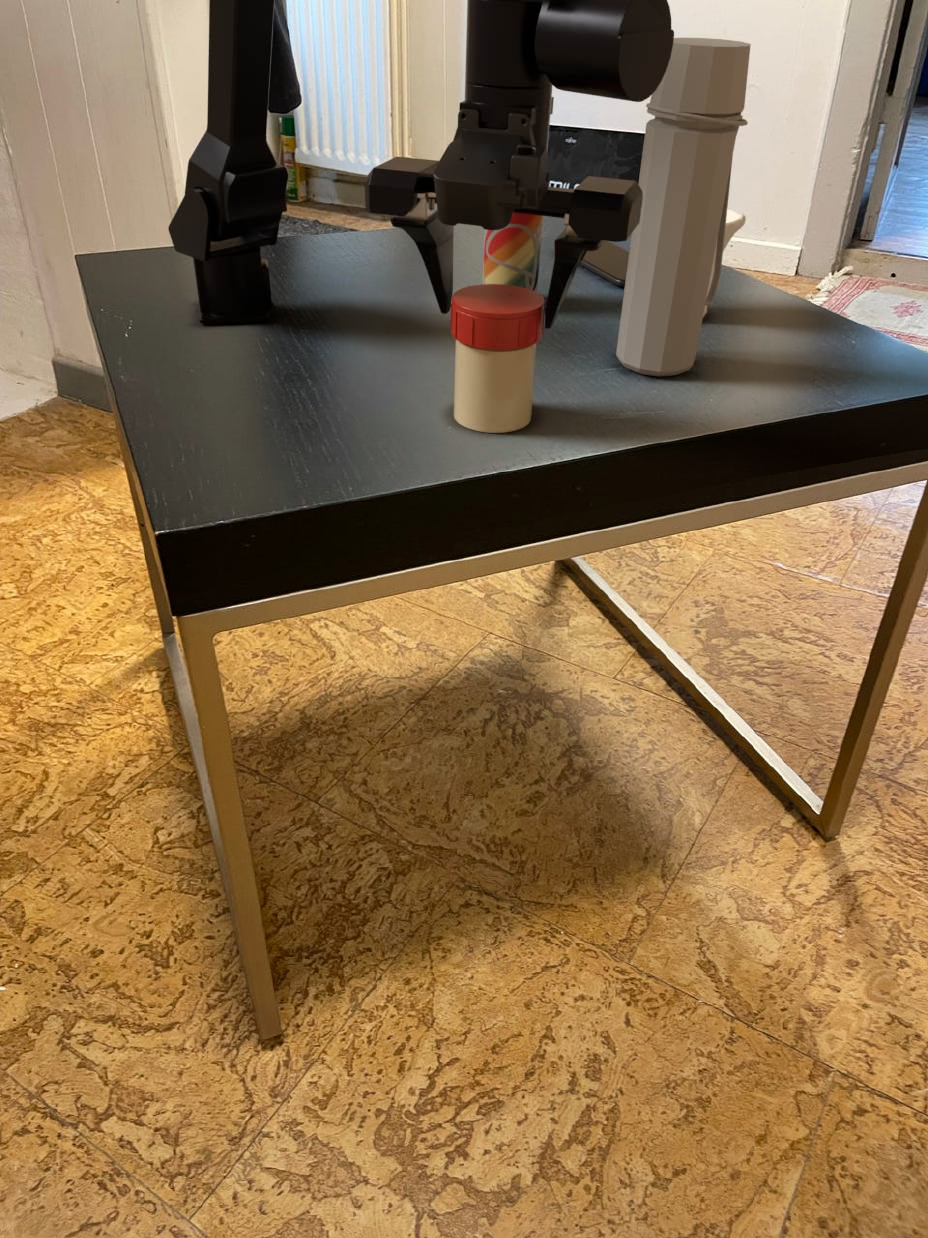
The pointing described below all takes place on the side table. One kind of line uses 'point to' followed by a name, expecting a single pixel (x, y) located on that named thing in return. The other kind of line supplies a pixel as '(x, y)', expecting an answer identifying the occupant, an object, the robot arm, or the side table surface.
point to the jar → (493, 388)
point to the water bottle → (682, 204)
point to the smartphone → (608, 262)
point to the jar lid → (497, 316)
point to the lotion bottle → (514, 252)
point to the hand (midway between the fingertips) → (496, 319)
